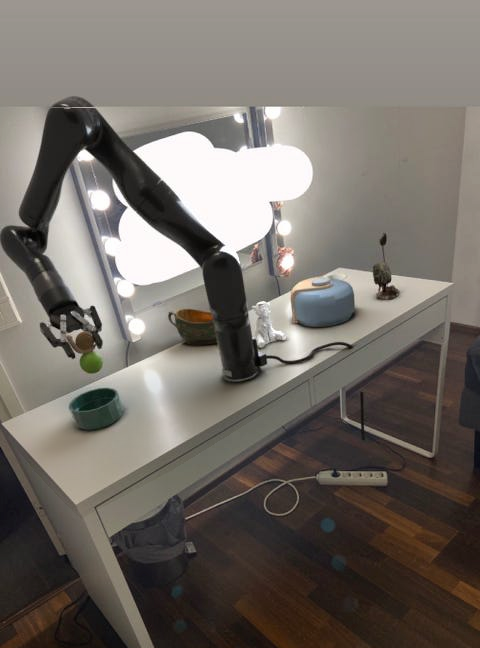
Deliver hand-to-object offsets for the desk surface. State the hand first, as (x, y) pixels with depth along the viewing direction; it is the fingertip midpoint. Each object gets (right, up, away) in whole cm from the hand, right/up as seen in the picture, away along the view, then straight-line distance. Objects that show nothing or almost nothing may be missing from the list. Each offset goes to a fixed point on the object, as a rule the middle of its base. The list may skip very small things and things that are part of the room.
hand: (87, 351), depth 116 cm
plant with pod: (+85, +26, +51) cm, 103 cm away
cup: (+24, +11, +45) cm, 52 cm away
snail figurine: (0, -5, +5) cm, 7 cm away
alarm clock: (+63, +18, +44) cm, 79 cm away
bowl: (0, -15, +10) cm, 18 cm away
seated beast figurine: (+44, +9, +35) cm, 57 cm away
